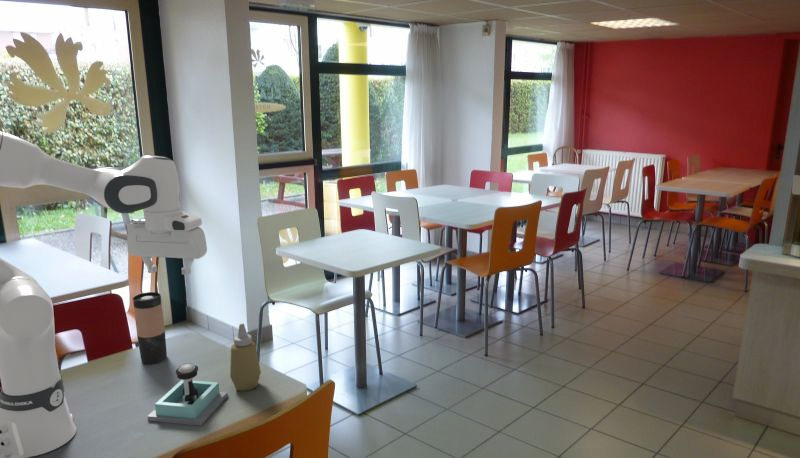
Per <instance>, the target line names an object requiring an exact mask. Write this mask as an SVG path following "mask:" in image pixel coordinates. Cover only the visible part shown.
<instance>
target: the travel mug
mask: <svg viewBox="0 0 800 458" xmlns="http://www.w3.org/2000/svg"><path fill="white" fill-rule="evenodd" d="M132 302H133V311H134V319H135V329H136V336H137V342H138V350H139V354H140V355H139V356H140V361H141V363H142V364H145V365H156V364H160V363H162V362H164V361H165V360H166V359H167V358H168V357H167V356H168V355H167V354H168V352H167V341H166V327H165V321H164V312H163V304H162V303H163V302H162V296H161V293H159V292H157V291H156V292H155V291H154V292H153V291H152V292H150V291H149V292H142V293H138V294H136V295H135V296H133V297H132Z"/></svg>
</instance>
